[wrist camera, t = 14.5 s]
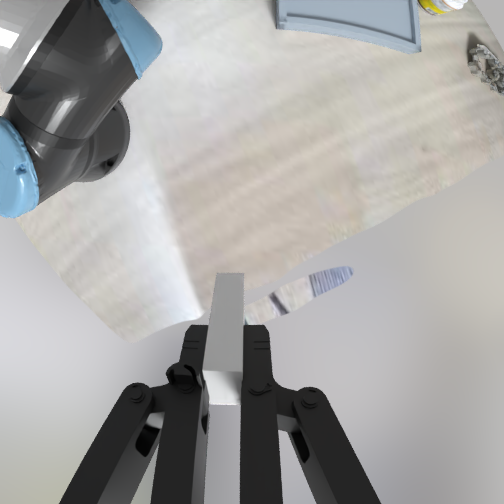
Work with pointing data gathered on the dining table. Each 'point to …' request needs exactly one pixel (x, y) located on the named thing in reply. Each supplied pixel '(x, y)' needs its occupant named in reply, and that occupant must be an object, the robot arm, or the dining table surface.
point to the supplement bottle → (440, 6)
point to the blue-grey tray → (356, 20)
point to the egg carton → (500, 75)
